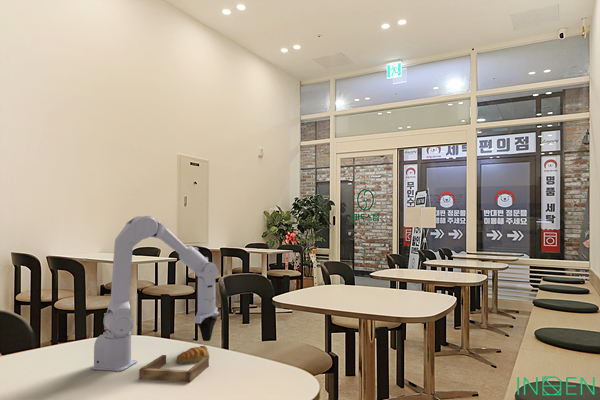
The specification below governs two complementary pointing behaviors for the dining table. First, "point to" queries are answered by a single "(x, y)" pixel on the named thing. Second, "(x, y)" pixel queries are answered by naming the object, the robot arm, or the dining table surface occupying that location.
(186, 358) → the pastry
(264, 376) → the dining table surface
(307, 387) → the dining table surface
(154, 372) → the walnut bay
